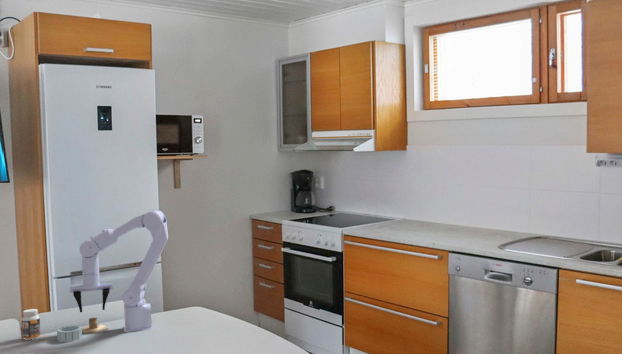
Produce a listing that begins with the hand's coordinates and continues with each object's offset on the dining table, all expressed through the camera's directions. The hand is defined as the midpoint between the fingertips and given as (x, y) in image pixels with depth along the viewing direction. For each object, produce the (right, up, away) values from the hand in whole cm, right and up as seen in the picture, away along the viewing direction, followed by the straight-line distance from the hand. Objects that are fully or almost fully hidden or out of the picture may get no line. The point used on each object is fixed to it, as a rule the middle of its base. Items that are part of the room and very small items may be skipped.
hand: (92, 310), depth 219 cm
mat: (0, -8, 0) cm, 8 cm away
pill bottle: (-19, -9, -6) cm, 22 cm away
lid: (0, -7, 0) cm, 7 cm away
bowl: (-4, -8, -10) cm, 13 cm away
